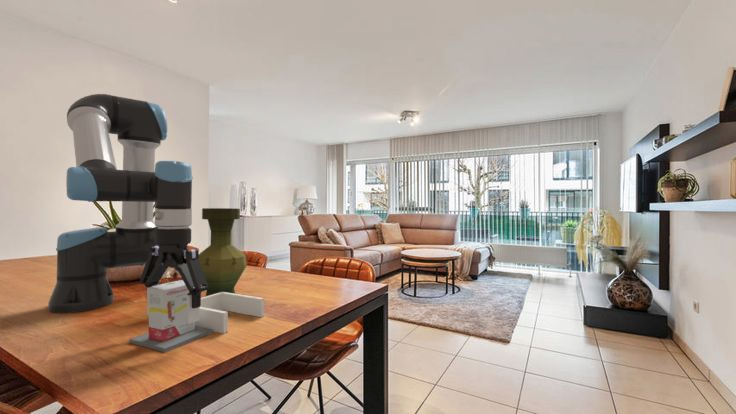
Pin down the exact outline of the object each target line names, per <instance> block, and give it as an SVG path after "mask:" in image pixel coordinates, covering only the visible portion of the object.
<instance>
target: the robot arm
mask: <svg viewBox="0 0 736 414" xmlns="http://www.w3.org/2000/svg"><path fill="white" fill-rule="evenodd" d="M167 120H168V119H167V116H166V113H165V110H164V109H163V108H162V106H161V105H159V104H156V103H152V102H149V101H145V100H139V99H132V98H129V97H128V98H127V97H122V96H117V95H111V94H107V93H96V94H95V93H94V94H90V95H86V96H83V97H81V98H79V99H78V100H76V101H74V102H73V103H72V104H71V105H70V107H69V108H68V109H67V112H66V123H67V125H68V127H69V129H70V130H71V132H72V136H73V143H74V144H73V147H74V157H75V163H76V164H75V166H71V167H68V168H67V170H66V179H65V180H66V181H65V182H66V184H65V185H66V197H67V198H68V199H69V200H72V201H80V202H83V201H84V202H89V203H90V202H91V203H93V202H121V221H119V222H118V223H117V224H116V225H115V230H114V231H109V230H108V229H107V227H101V226H100V227H92V228H83V229H76V230H72V231H65V232H62V233H61V234H60V235H58V237H57V242H56V249H55V251H56V252H57V253H56V284H55V286H54V288H53V291H52V293H51V296H50V297H49V301H48V305H47V306H48V309H47V311H48V312H50V313H54V314H55V313H56V314H57V313H58V314H59V313H60V314H61V313H63V314H65V313H77V312H84V311H89V310H94V309H99V308H103V307H106V306H108V305H111V304H112V303H114V296H115V295H114V292H113V289H112V286H111V284H110V283H109V280H108V274H107V273H108V269H115V268H116V269H118V268H125V267H127V268H128V267H136V266H137V267H138V266H140V267H141V266H142V267H144V268H143V270H142V273H141V275H140V278H139V283H140V284H144V287H145V288H146V316H147V315H148V316H149V300H150V288H151V287H152V286H156V285H160V284H161V283H160V280H161V279H162V277H163V276H164V275H165V273H166V271H168V268H171V269H174V271H177V272H178V273H179V275H180V277H181V280H183V281H184V283H185V285H186V287H187V289H188V291H189V293H188V294H187V324H190V323H193V322H195V321H198V320H199V307H200V305H201V298H202V297H201V296H202V292H203V293H204V292H207V290H208V285H207V282H206V279H205V276H204V273H203V270H202V267H201V264H200V261H199V254H200V253H199V250H198V249H197V248H191V249H189V248H188V245H189V244H191V242H192V228H191V227H190V226H192V224H193V219H192V214H193V213H192V200H193V199H192V194H193V191H192V190H193V179H194V178H193V173H192V165H191V164H190V163H188V162H185V161H184V162H183V161H177V160H159V161H157V162H155V160H156V158H155V157H156V155H155V154H156V150H157V148H159V147H160V146H161V142H162V141H165V140H166V139H167V136H168V121H167ZM110 134H111V135H112V134H113V135H117V142H118V143H120V145H121V146H122V148H123V153H122V154H123V157H122V169H117V165H116V159H115V156H114V151H113V147H112V141H111V138H110ZM193 287H194V288H193Z"/></svg>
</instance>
